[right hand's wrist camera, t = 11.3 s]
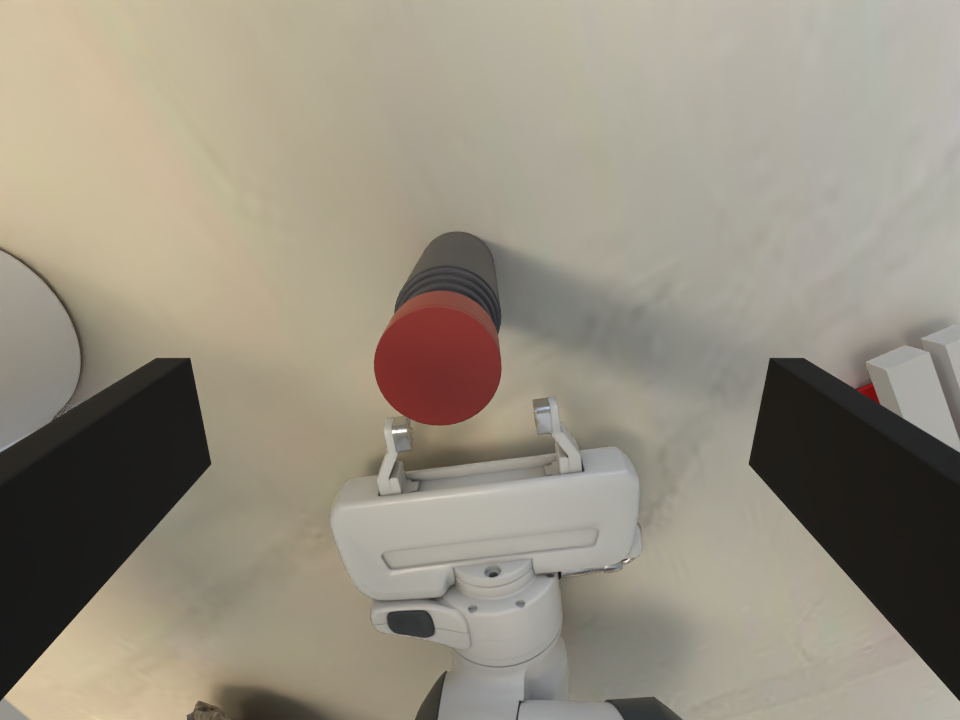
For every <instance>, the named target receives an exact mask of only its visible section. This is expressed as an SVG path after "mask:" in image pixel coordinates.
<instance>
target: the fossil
mask: <svg viewBox="0 0 960 720" xmlns="http://www.w3.org/2000/svg"><path fill="white" fill-rule="evenodd" d="M187 720H234V719H232V718H230V717H228V716H227V715H225V713H223V712H222V711H221V710H220V709H219V708H218V707H215V706H212V705H209V704H207V703H204V702H201V701H198V702H197V704H196V706H195V709H194V711H193V712H192V713H191V714H189V715H187Z"/></svg>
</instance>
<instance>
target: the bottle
mask: <svg viewBox="0 0 960 720" xmlns="http://www.w3.org/2000/svg"><path fill="white" fill-rule="evenodd" d="M432 291H449V292H455V293H458V294H461V295H464V296H466V297H468V298H470V299H472V300H473V301H475V302H476V303H478V304H479V305H480V306H481V307H482V308H483V309H484V310H485V311H486V312H487V313H488V315H489V316H490V317H491V319H492V321H493V323H494V325H495V327H496V330H497V334H498V333H499V330H500V325H501V309H500V302H499V295H498V288H497V280H496V273H495V266H494V261H493V257H492V255H491V253H490V251H489V249H488V248H487V246H486V245H485V244H484V243H483V242H482V241H481V240H480V239H478V238H477V237H475V236H473V235H471V234H468V233H464V232H450V233H446V234H443V235H441V236H439V237H437V238H436V239H434V240H433V241H432V242H431V243H430V244H429V245H428V246H427V248H426V249H425V251H424V253H423V254H422V256H421V258H420V259H419V261H418V263H417V264H416V266H415V268H414V270H413V271H412V273H411V275H410V276H409V278H408V280H407V281H406V283H405V285H404V286H403V288H402V290H401V291H400V293H399V296H398V298H397V301H396V305H395V312H394V314H395V313H396V311H397V310H398V309H399V308H400V307H401V306H402V305H403V304H404V303H406V302H407V301H408V300H410V299H412V298H414V297H416V296H418V295H420V294H423V293H427V292H432Z"/></svg>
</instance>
